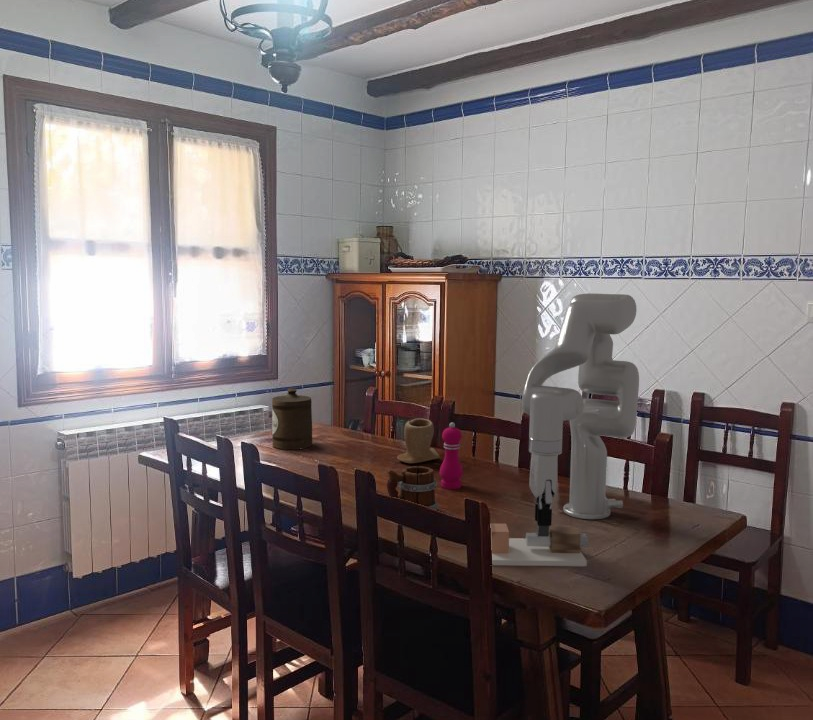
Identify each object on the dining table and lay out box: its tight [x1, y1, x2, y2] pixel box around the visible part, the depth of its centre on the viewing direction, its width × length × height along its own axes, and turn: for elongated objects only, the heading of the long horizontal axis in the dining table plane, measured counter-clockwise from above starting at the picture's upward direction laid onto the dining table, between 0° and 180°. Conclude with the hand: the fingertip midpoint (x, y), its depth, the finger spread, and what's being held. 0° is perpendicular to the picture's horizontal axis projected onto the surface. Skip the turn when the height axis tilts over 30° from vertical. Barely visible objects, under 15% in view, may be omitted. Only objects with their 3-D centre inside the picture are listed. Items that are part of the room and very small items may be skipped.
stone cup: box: [396, 417, 440, 464], centre depth 257 cm, size 15×12×15 cm
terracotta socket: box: [489, 522, 510, 553], centre depth 173 cm, size 4×6×5 cm
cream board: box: [492, 537, 588, 567], centre depth 174 cm, size 22×14×1 cm, turn 90°
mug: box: [386, 465, 439, 511], centre depth 202 cm, size 12×14×15 cm
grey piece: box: [525, 503, 589, 548], centre depth 173 cm, size 14×2×10 cm, turn 90°
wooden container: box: [271, 387, 313, 450], centre depth 279 cm, size 15×15×22 cm
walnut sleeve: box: [549, 526, 581, 553], centre depth 173 cm, size 6×5×5 cm
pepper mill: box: [439, 422, 464, 490], centre depth 227 cm, size 7×7×20 cm
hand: (542, 522), depth 173 cm, fingers closed on grey piece, 2 cm apart
